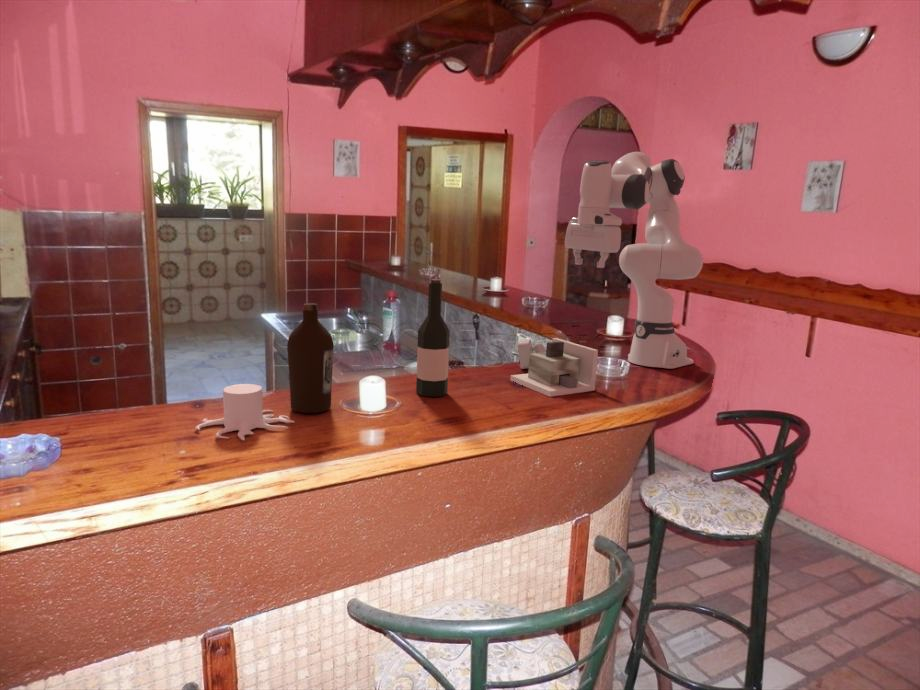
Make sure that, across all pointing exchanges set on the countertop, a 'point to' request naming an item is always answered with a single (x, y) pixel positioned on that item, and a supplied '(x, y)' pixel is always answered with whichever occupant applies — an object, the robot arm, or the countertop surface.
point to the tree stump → (243, 411)
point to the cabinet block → (552, 364)
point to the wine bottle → (433, 347)
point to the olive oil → (310, 363)
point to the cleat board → (549, 388)
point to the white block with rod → (528, 351)
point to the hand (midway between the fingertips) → (589, 266)
